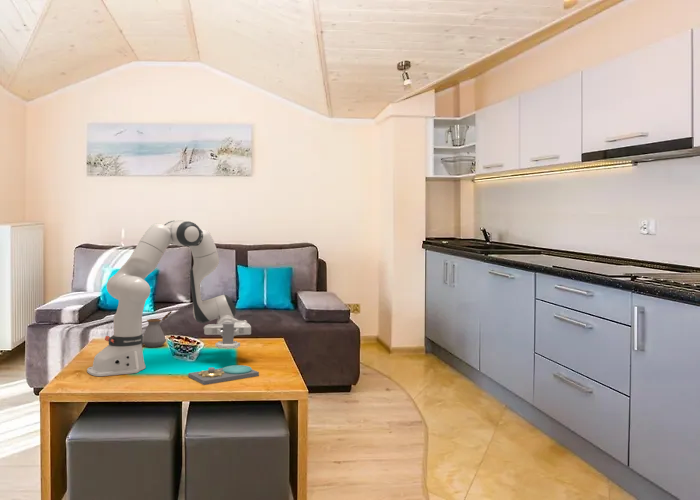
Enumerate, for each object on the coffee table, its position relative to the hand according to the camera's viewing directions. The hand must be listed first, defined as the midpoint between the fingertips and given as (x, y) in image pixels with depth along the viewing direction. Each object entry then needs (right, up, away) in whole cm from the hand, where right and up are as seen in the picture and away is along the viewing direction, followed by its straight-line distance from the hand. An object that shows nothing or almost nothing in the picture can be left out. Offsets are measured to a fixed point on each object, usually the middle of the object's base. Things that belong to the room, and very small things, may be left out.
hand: (228, 332), depth 261 cm
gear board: (+1, -15, -16) cm, 22 cm away
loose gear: (0, -6, +1) cm, 6 cm away
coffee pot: (-43, -11, +42) cm, 61 cm away
